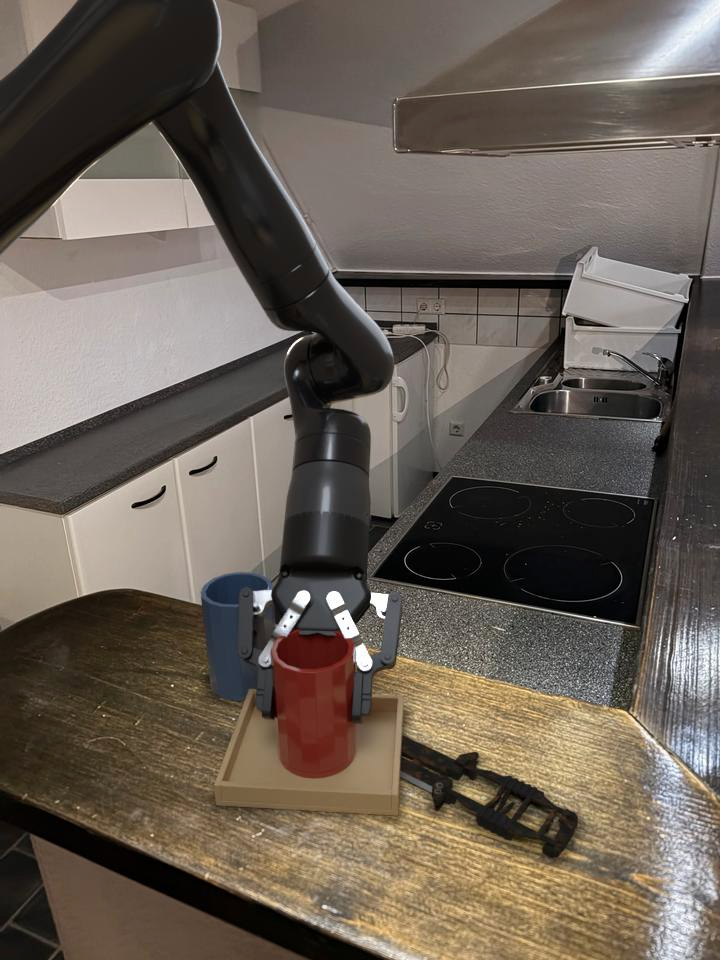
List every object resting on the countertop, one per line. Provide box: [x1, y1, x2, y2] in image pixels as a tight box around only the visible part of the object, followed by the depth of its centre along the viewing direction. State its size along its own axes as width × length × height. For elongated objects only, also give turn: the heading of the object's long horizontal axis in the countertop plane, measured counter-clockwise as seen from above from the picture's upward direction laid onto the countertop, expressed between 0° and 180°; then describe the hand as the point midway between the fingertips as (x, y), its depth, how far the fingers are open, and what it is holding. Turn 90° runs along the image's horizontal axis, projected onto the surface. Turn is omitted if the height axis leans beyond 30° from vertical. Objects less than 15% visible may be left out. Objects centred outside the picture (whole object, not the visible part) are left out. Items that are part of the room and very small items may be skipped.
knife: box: [400, 734, 579, 859], centre depth 62 cm, size 25×6×1 cm, turn 48°
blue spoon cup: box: [200, 571, 277, 702], centre depth 72 cm, size 6×6×10 cm
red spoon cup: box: [271, 629, 357, 778], centre depth 62 cm, size 6×6×10 cm
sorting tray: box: [213, 689, 405, 817], centre depth 63 cm, size 14×12×2 cm
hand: (312, 720), depth 60 cm, fingers closed on red spoon cup, 6 cm apart
